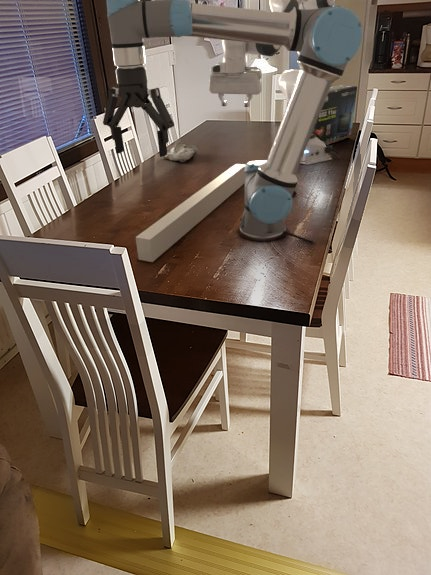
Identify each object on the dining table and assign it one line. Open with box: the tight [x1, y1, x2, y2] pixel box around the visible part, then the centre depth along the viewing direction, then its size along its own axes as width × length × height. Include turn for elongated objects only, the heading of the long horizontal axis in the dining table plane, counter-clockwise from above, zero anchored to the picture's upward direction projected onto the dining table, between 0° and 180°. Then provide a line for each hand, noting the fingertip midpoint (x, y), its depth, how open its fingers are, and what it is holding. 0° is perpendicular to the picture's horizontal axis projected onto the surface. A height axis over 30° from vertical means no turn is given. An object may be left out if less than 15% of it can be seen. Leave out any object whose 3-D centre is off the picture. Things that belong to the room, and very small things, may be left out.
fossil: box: [161, 142, 199, 163], centre depth 229 cm, size 18×11×15 cm
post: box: [135, 163, 246, 263], centre depth 163 cm, size 78×5×7 cm, turn 156°
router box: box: [314, 84, 358, 144], centre depth 238 cm, size 36×11×27 cm, turn 134°
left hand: (141, 154), depth 123 cm, fingers open, 13 cm apart
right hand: (235, 106), depth 176 cm, fingers open, 8 cm apart
